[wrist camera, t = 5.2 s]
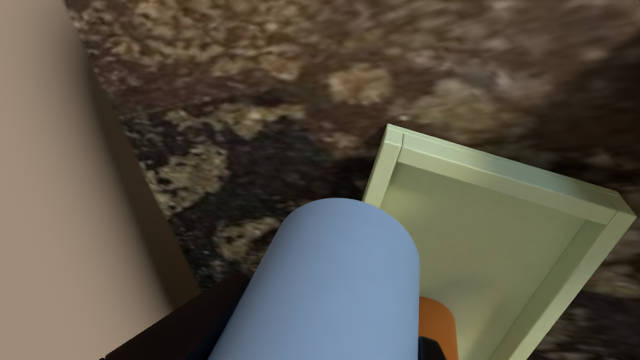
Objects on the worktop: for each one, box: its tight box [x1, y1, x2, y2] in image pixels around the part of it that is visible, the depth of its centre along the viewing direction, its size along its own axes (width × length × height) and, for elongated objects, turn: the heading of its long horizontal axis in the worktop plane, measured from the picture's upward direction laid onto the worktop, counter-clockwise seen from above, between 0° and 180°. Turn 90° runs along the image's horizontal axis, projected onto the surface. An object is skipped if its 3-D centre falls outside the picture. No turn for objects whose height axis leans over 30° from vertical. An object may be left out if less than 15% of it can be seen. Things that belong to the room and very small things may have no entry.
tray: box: [361, 124, 637, 360], centre depth 23 cm, size 11×21×2 cm, turn 167°
